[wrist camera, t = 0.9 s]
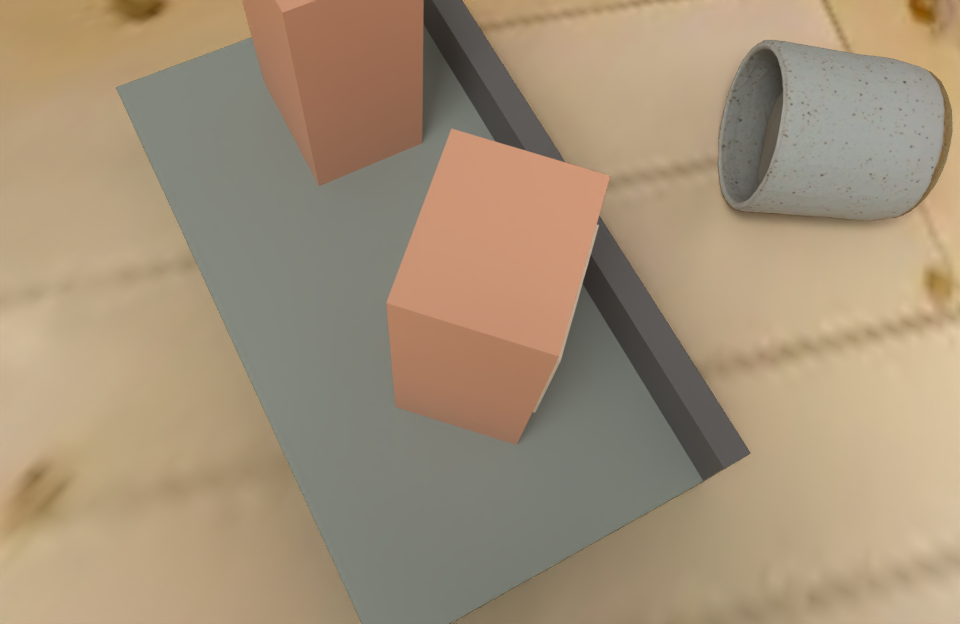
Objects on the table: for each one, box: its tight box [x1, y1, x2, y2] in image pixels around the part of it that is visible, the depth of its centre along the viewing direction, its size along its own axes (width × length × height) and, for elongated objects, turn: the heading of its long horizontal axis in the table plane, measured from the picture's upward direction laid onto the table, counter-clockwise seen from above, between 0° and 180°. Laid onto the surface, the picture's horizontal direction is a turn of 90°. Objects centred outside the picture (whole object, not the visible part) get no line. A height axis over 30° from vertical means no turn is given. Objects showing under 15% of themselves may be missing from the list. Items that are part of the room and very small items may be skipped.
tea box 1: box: [242, 0, 424, 186], centre depth 34 cm, size 5×6×11 cm
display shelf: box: [116, 0, 751, 624], centre depth 37 cm, size 16×27×6 cm, turn 28°
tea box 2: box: [386, 129, 610, 445], centre depth 30 cm, size 5×6×11 cm
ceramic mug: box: [718, 40, 952, 220], centre depth 40 cm, size 11×8×8 cm
